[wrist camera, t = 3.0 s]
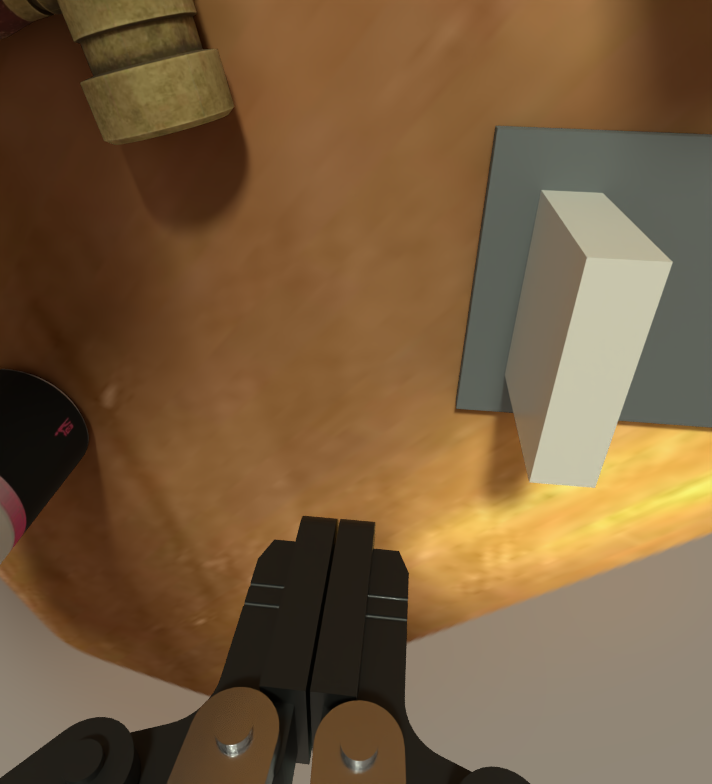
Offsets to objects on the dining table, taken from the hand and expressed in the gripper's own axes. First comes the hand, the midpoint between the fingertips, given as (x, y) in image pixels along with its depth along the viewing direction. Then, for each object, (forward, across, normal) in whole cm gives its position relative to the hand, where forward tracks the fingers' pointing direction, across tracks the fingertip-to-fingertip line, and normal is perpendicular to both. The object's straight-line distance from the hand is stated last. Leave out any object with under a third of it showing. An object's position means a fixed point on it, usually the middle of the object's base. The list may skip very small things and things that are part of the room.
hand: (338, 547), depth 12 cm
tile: (+14, -7, 0) cm, 16 cm away
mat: (+15, -11, 0) cm, 18 cm away
